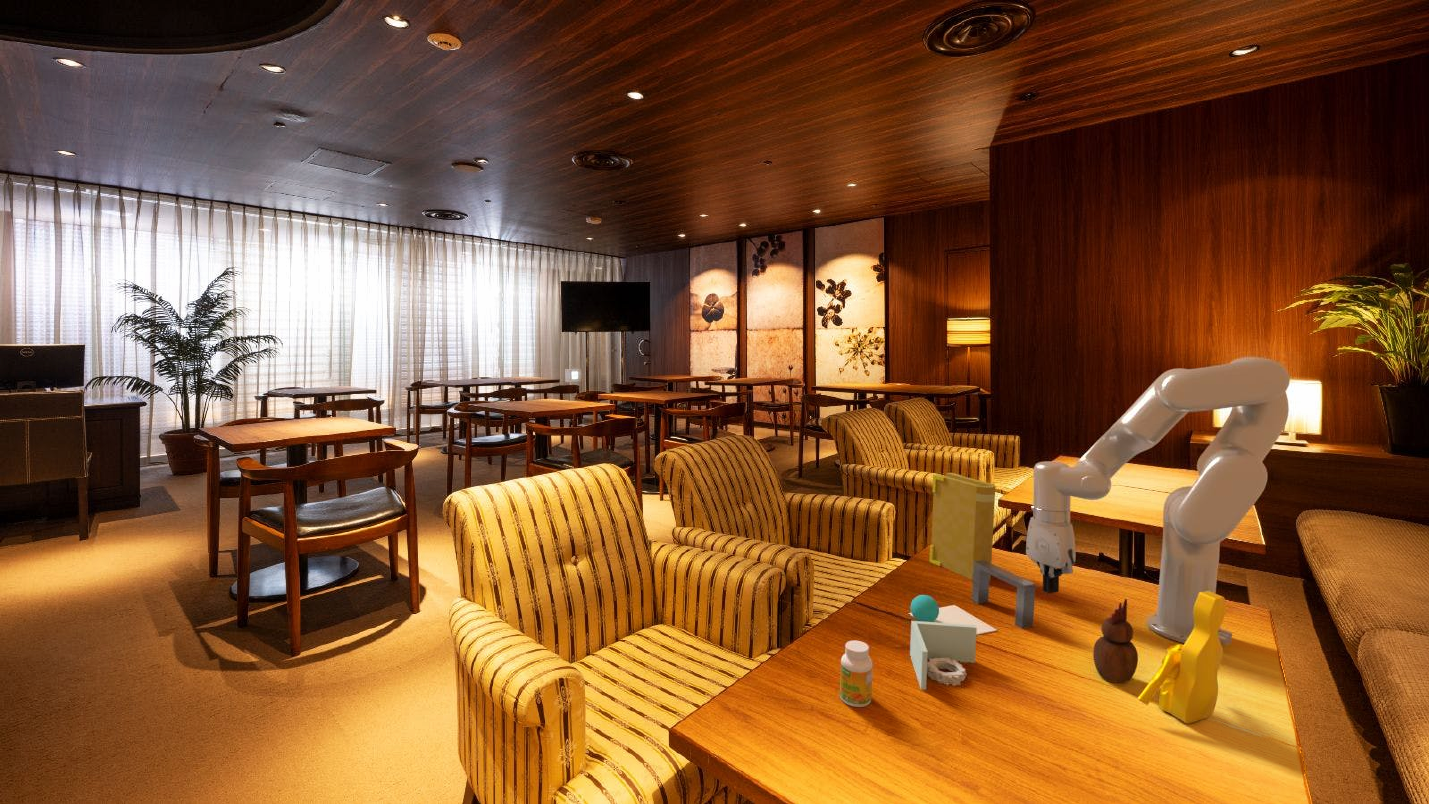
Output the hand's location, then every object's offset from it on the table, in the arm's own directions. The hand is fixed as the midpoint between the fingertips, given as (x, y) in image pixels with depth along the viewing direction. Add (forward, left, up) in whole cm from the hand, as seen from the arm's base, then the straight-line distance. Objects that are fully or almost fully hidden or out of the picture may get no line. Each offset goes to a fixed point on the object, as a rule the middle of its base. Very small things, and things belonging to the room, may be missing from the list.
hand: (1050, 591), depth 143 cm
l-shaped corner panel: (-16, +43, -4) cm, 46 cm away
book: (+25, +4, -4) cm, 25 cm away
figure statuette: (-39, +14, -4) cm, 42 cm away
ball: (+3, +33, -1) cm, 34 cm away
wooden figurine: (-27, +15, -4) cm, 31 cm away
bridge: (+1, +14, -4) cm, 14 cm away
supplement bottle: (-17, +64, -4) cm, 66 cm away
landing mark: (+1, +28, -4) cm, 28 cm away
